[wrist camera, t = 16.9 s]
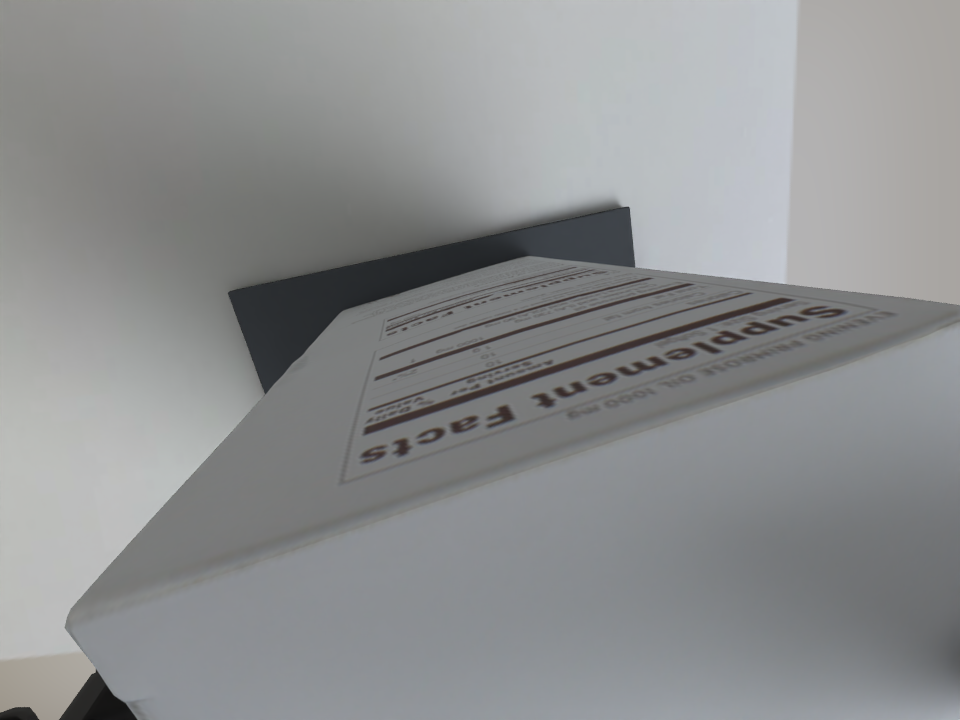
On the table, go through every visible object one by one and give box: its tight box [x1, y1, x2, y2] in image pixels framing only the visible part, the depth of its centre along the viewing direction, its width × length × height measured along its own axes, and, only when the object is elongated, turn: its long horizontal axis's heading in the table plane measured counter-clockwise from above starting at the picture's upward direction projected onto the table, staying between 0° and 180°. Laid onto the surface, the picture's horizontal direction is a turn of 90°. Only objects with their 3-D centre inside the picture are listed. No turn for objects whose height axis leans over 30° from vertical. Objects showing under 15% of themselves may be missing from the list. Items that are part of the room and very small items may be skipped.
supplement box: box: [65, 256, 960, 720], centre depth 13 cm, size 10×9×17 cm
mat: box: [228, 207, 635, 395], centre depth 21 cm, size 18×12×1 cm, turn 101°
